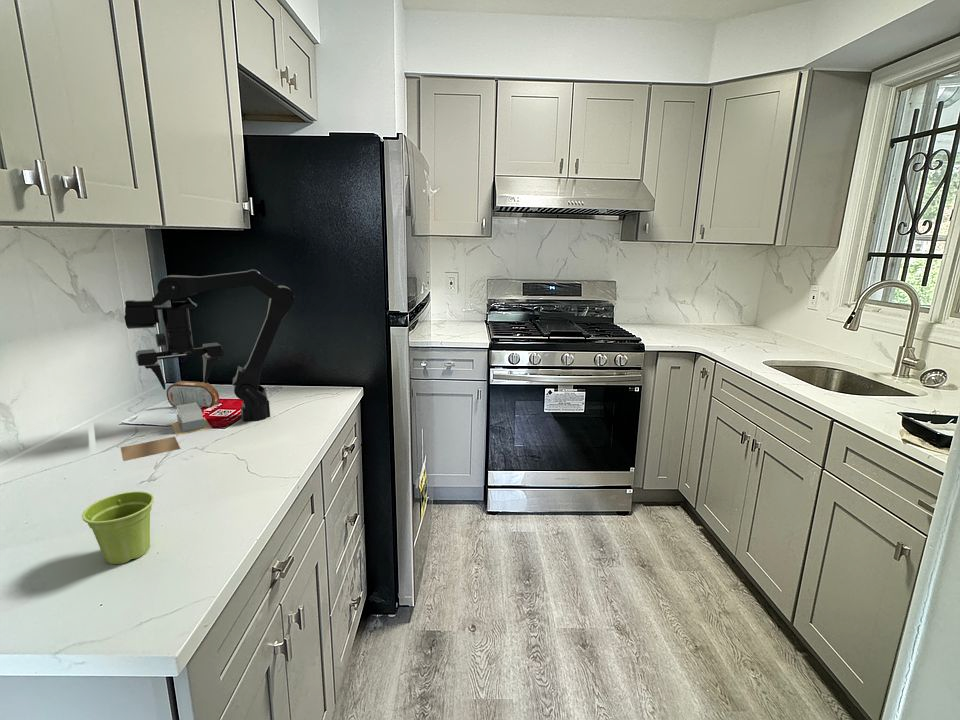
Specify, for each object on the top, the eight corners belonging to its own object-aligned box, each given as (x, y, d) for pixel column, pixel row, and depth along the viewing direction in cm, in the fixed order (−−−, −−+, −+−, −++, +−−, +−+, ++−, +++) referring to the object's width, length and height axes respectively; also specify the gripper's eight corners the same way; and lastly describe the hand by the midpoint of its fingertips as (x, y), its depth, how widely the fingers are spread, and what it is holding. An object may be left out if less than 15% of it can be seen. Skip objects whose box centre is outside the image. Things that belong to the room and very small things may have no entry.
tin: (221, 409, 147) (218, 381, 145) (214, 412, 144) (211, 385, 142) (174, 406, 149) (170, 379, 147) (166, 410, 146) (162, 382, 144)
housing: (199, 419, 135) (196, 402, 133) (204, 428, 129) (202, 410, 127) (177, 423, 132) (175, 405, 130) (182, 432, 126) (180, 414, 124)
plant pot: (76, 572, 76) (65, 522, 74) (116, 536, 85) (108, 491, 83) (139, 571, 77) (130, 521, 74) (172, 535, 86) (165, 490, 84)
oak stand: (205, 422, 137) (204, 417, 136) (212, 433, 129) (212, 428, 129) (171, 428, 132) (170, 423, 131) (177, 440, 124) (176, 435, 124)
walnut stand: (175, 442, 124) (174, 436, 123) (181, 454, 117) (180, 448, 116) (121, 453, 117) (120, 447, 117) (124, 467, 110) (123, 460, 110)
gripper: (212, 318, 135) (218, 373, 139) (129, 325, 124) (138, 384, 128) (221, 324, 127) (227, 382, 131) (133, 332, 116) (143, 395, 119)
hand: (185, 386), depth 127 cm, fingers open, 9 cm apart
